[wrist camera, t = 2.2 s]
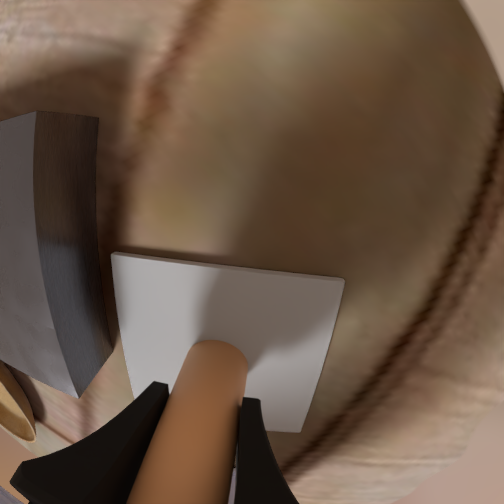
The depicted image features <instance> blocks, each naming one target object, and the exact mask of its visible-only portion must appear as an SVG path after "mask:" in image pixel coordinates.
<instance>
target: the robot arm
mask: <svg viewBox="0 0 504 504" xmlns="http://www.w3.org/2000/svg"><path fill="white" fill-rule="evenodd" d="M169 396H170V394H169V387H168V384H166V383H161V382H157V381H153V382H152V383H151V384H150V385H149V386H148V387H147V388H146V389H145V390H144V391H143V392H142V393H141V394H140V395H139V396H138V397H137V398H136V399H135V400H134V401H133V402H132V403H131V404H129V405H128V406H127V407H126V408H125V409H124V410H123V411H122V412H120V413H119V414H118V415H117V416H116V417H114V418H113V419H112V420H110V421H109V422H108V423H107V424H105V425H104V426H103V427H101V428H100V429H98V430H97V431H95V432H94V433H92V434H91V435H89V436H87V437H86V438H84V439H82V440H80V441H78V442H76V443H75V444H73V445H71V446H69V447H66V448H64V449H62V450H59V451H56V452H54V453H51V454H49V455H46V456H42V457H39V458H35V459H31V460H27V461H23V462H22V463H21V464H20V466H19V467H18V468H17V470H16V472H15V473H14V475H13V477H12V478H11V480H10V484H11V485H12V486H13V487H14V488H15V489H16V490H17V491H18V492H19V493H21V494H22V495H23V496H24V497H25V498H26V499H28V500H29V503H28V504H126V503H127V500H128V497H129V495H130V492H131V490H132V487H133V485H134V482H135V479H136V477H137V474H138V472H139V469H140V467H141V464H142V462H143V459H144V457H145V454H146V452H147V449H148V447H149V444H150V442H151V439H152V437H153V435H154V432H155V430H156V427H157V425H158V422H159V420H160V417H161V415H162V413H163V410H164V408H165V405H166V403H167V401H168V398H169ZM0 504H24V503H22V502H21V501H19V500H18V499H17V498H15V497H14V496H13V495H11V494H10V493H9V492H7V491H6V490H5V489H4V488H2V487H1V486H0ZM228 504H299V503H298V501H297V500H296V498H295V496H294V495H293V493H292V492H291V490H290V488H289V486H288V485H287V483H286V481H285V479H284V477H283V475H282V473H281V471H280V469H279V467H278V464H277V462H276V460H275V457H274V455H273V452H272V449H271V446H270V443H269V440H268V437H267V434H266V430H265V426H264V422H263V417H262V410H261V400H260V399H258V398H250V397H243V399H242V405H241V411H240V421H239V433H238V442H237V449H236V468H234V469H233V476H232V482H231V489H230V495H229V502H228Z"/></svg>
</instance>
